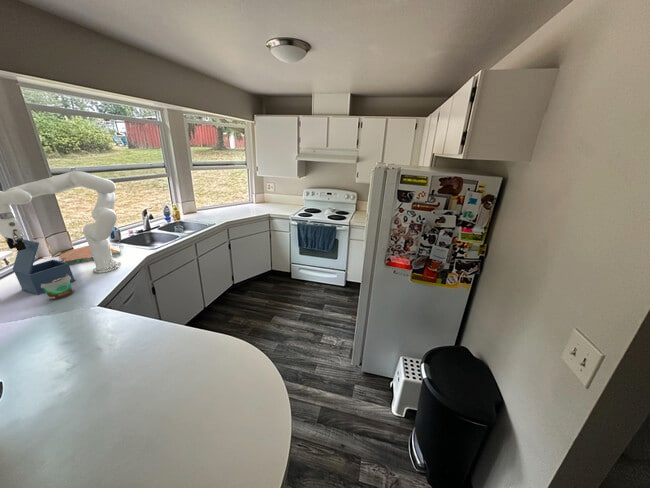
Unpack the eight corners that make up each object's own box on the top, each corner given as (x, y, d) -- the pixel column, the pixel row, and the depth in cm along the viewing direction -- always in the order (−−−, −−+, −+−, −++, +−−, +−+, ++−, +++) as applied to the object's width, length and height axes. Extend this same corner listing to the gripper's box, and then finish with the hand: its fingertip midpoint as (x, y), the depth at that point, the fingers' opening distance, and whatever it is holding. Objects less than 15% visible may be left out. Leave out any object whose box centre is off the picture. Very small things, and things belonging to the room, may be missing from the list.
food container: (55, 302, 130) (48, 285, 126) (46, 301, 131) (39, 284, 128) (81, 290, 141) (76, 274, 138) (73, 289, 142) (67, 273, 139)
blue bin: (59, 276, 155) (52, 259, 151) (74, 280, 151) (68, 263, 147) (22, 289, 141) (13, 270, 137) (38, 294, 136) (29, 275, 132)
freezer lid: (23, 239, 138) (9, 237, 133) (39, 242, 134) (25, 241, 129) (14, 270, 137) (0, 269, 132) (30, 274, 132) (16, 274, 128)
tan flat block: (63, 256, 184) (59, 245, 181) (119, 246, 204) (117, 237, 201) (59, 266, 168) (55, 255, 165) (121, 255, 188) (118, 245, 185)
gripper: (23, 215, 126) (37, 248, 133) (4, 212, 132) (18, 244, 138) (2, 219, 120) (17, 253, 126) (-18, 215, 125) (-2, 249, 131)
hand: (17, 248), depth 132 cm, fingers closed on freezer lid, 6 cm apart
